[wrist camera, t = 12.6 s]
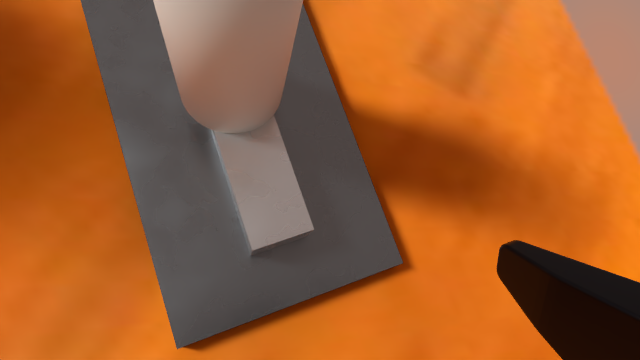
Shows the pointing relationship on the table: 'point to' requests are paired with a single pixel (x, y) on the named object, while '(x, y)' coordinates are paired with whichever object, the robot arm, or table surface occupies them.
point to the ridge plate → (202, 194)
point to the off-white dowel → (229, 57)
